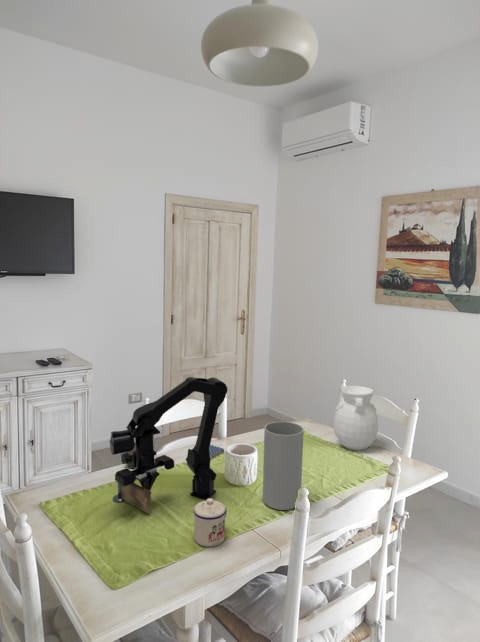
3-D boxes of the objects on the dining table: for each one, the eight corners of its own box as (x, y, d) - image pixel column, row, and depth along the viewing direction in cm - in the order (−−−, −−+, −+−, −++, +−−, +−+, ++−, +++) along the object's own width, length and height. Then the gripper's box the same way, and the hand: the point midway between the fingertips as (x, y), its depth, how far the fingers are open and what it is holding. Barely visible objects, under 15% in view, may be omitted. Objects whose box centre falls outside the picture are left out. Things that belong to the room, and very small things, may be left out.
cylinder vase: (275, 488, 167) (277, 419, 164) (307, 499, 160) (310, 427, 157) (255, 503, 157) (257, 429, 154) (288, 515, 150) (291, 438, 147)
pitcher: (331, 436, 217) (334, 382, 214) (373, 439, 215) (376, 385, 211) (333, 453, 199) (336, 394, 196) (379, 456, 196) (383, 397, 193)
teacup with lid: (211, 551, 131) (212, 511, 129) (186, 539, 136) (186, 501, 135) (237, 532, 141) (238, 494, 139) (213, 521, 146) (214, 485, 144)
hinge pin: (131, 497, 159) (131, 477, 158) (121, 504, 155) (121, 483, 154) (119, 493, 162) (119, 474, 161) (109, 500, 157) (109, 480, 156)
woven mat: (189, 455, 195) (189, 450, 195) (205, 447, 204) (205, 442, 204) (209, 461, 189) (209, 457, 189) (225, 453, 198) (225, 448, 198)
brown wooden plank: (151, 511, 149) (151, 491, 148) (146, 514, 148) (146, 494, 147) (124, 496, 158) (124, 477, 157) (119, 499, 156) (119, 480, 156)
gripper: (155, 433, 164) (156, 477, 166) (104, 449, 151) (107, 496, 153) (174, 442, 156) (176, 488, 158) (123, 460, 143) (125, 509, 145)
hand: (146, 494), depth 154 cm, fingers closed
